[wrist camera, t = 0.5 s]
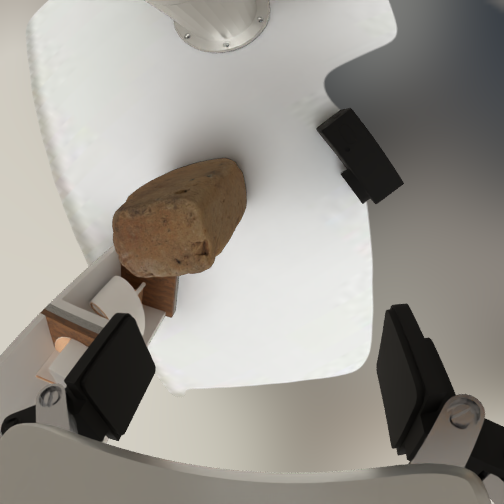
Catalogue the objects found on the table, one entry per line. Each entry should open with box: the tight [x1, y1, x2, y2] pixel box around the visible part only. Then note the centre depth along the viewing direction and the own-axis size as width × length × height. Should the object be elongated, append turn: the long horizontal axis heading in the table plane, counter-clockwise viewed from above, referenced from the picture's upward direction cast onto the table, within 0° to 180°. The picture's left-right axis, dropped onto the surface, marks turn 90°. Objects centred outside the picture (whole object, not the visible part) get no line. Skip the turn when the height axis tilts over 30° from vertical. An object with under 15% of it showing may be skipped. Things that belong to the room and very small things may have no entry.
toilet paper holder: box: [0, 245, 179, 444], centre depth 32 cm, size 11×11×35 cm
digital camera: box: [317, 108, 404, 204], centre depth 32 cm, size 10×5×7 cm, turn 42°
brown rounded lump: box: [112, 158, 247, 278], centre depth 31 cm, size 11×8×20 cm
